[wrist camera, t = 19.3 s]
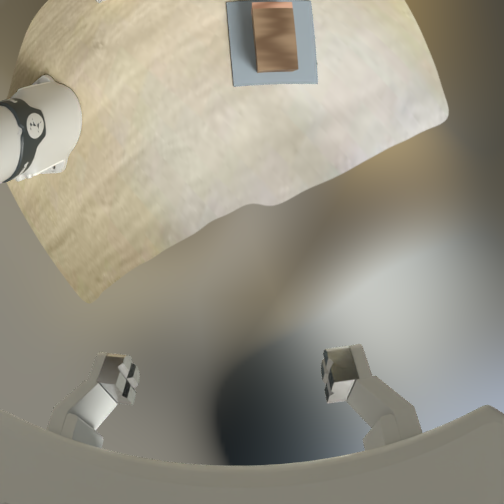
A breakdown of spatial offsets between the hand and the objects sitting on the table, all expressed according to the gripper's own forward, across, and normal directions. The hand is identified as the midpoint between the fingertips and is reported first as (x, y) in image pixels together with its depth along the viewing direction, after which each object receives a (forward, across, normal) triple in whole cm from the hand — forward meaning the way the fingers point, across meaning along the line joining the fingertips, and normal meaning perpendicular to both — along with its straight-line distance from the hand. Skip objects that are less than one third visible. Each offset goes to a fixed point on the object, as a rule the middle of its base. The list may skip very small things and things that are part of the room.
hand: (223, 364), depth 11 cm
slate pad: (+35, -6, -17) cm, 40 cm away
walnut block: (+32, -6, -12) cm, 35 cm away
